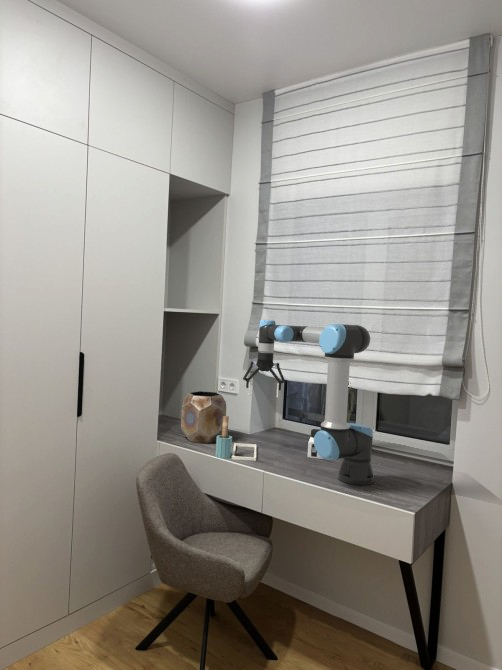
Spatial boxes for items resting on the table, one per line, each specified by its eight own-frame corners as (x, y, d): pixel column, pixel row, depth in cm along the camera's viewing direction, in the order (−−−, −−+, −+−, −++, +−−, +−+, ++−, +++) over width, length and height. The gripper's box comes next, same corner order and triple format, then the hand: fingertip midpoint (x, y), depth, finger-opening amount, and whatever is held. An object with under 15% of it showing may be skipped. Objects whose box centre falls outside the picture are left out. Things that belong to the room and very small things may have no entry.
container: (323, 459, 244) (325, 432, 244) (307, 457, 246) (309, 430, 245) (324, 455, 252) (326, 428, 251) (308, 453, 254) (310, 427, 253)
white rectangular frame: (255, 462, 232) (256, 458, 232) (231, 461, 233) (231, 456, 232) (256, 448, 256) (256, 444, 256) (234, 447, 257) (234, 443, 256)
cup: (230, 461, 233) (231, 439, 233) (214, 460, 233) (216, 438, 233) (231, 456, 240) (232, 435, 240) (216, 455, 240) (217, 434, 240)
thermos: (333, 444, 273) (337, 378, 271) (354, 449, 266) (358, 381, 264) (325, 447, 266) (329, 380, 264) (346, 452, 259) (351, 383, 257)
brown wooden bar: (225, 457, 234) (228, 417, 234) (220, 457, 234) (222, 417, 234) (226, 454, 240) (228, 415, 240) (221, 454, 240) (223, 415, 240)
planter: (174, 434, 275) (176, 390, 274) (217, 433, 285) (220, 390, 284) (186, 445, 255) (188, 398, 254) (232, 443, 264) (234, 397, 263)
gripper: (291, 353, 250) (288, 396, 251) (240, 349, 252) (237, 392, 253) (292, 354, 243) (289, 399, 244) (239, 351, 244) (236, 395, 245)
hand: (263, 396), depth 248 cm, fingers open, 13 cm apart
